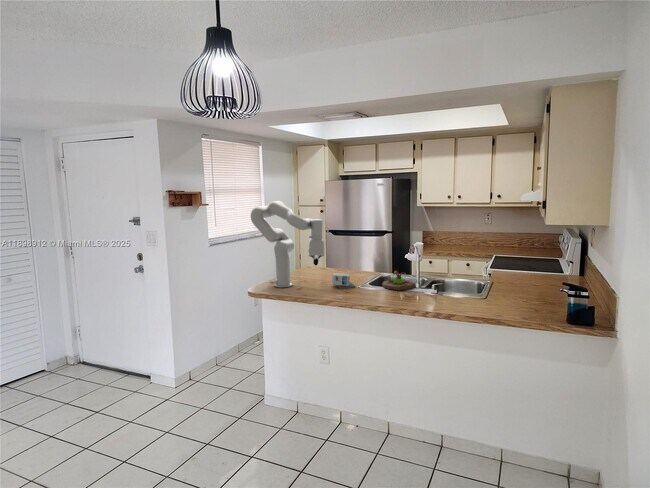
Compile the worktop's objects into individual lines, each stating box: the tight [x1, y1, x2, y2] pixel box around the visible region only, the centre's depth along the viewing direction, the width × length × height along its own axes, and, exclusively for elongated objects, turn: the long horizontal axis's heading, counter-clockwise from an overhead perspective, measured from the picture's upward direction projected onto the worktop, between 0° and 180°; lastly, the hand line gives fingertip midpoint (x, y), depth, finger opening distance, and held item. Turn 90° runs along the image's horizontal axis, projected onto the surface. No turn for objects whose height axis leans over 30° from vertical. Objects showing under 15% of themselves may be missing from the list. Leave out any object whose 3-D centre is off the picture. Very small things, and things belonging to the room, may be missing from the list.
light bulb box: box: [331, 272, 350, 286], centre depth 272 cm, size 11×7×11 cm
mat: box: [335, 280, 356, 290], centre depth 274 cm, size 11×16×2 cm
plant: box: [381, 270, 416, 291], centre depth 269 cm, size 20×20×11 cm
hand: (315, 265), depth 271 cm, fingers closed
